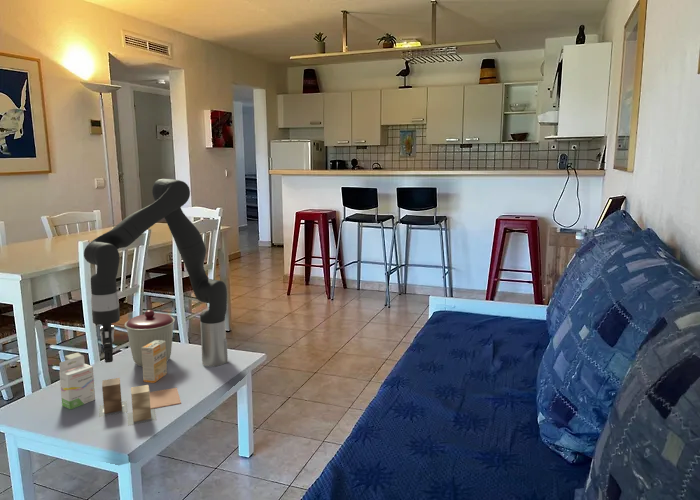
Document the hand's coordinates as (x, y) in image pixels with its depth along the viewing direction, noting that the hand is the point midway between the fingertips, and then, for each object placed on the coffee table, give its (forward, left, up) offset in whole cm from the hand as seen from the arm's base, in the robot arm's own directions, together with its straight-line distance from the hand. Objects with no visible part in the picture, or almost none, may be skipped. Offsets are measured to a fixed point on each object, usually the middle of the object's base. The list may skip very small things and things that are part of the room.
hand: (109, 357), depth 156 cm
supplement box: (-14, -19, -18) cm, 30 cm away
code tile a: (0, 0, -18) cm, 18 cm away
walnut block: (0, 0, -17) cm, 17 cm away
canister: (-14, -35, -18) cm, 42 cm away
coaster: (-14, -1, -18) cm, 22 cm away
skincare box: (+11, -20, -18) cm, 29 cm away
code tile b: (-8, +9, -18) cm, 21 cm away
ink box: (+10, -9, -18) cm, 22 cm away
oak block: (-8, +9, -17) cm, 21 cm away
